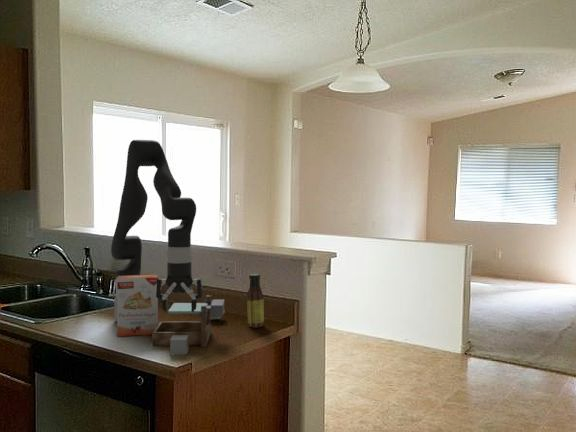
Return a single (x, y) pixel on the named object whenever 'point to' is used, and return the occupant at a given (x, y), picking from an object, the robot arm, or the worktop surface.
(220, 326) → the worktop surface
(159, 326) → the frame
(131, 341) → the worktop surface
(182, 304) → the trapdoor
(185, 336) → the gray cube
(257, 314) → the sauce bottle
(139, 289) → the cracker box
